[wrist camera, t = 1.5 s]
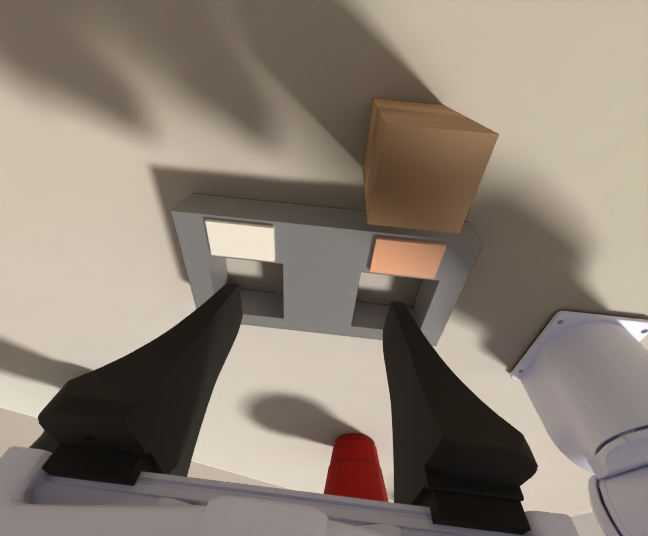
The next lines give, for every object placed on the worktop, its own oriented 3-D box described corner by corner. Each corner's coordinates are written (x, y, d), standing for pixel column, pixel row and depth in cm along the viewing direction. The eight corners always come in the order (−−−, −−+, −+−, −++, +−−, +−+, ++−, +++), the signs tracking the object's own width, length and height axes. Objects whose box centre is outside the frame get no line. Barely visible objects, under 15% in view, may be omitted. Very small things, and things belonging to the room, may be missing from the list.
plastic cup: (385, 463, 45) (394, 574, 35) (316, 454, 45) (306, 562, 36) (403, 430, 39) (420, 554, 29) (322, 419, 39) (312, 540, 29)
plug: (423, 173, 19) (459, 233, 13) (362, 167, 19) (367, 223, 13) (442, 104, 17) (498, 134, 10) (373, 98, 17) (385, 123, 10)
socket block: (428, 319, 27) (436, 349, 24) (212, 296, 27) (197, 322, 24) (468, 221, 21) (485, 245, 18) (191, 193, 21) (168, 212, 18)
